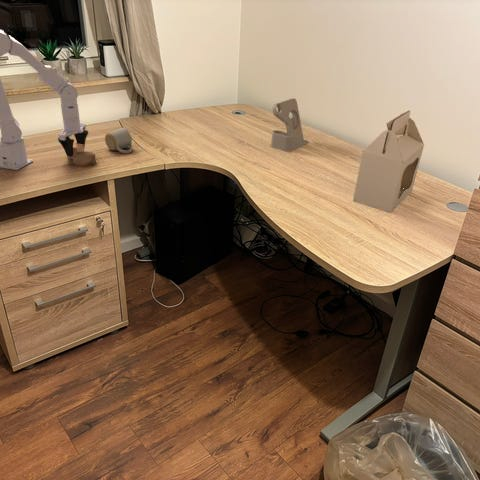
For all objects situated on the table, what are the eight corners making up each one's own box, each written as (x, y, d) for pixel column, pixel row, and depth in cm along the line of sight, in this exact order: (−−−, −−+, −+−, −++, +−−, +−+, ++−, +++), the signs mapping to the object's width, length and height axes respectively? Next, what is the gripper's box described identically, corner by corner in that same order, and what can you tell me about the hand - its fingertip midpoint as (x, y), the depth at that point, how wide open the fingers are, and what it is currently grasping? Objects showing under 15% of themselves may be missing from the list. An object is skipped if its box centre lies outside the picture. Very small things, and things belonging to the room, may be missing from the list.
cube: (78, 159, 175) (76, 148, 173) (67, 157, 176) (65, 146, 174) (84, 155, 179) (83, 144, 176) (74, 154, 180) (72, 142, 177)
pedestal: (88, 168, 169) (87, 160, 167) (68, 165, 170) (67, 157, 169) (100, 161, 175) (99, 153, 174) (81, 157, 177) (80, 150, 175)
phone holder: (288, 152, 193) (293, 109, 184) (268, 146, 198) (271, 103, 189) (309, 142, 205) (315, 101, 196) (290, 137, 210) (294, 96, 201)
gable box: (376, 180, 173) (393, 104, 158) (412, 191, 166) (433, 112, 152) (352, 201, 157) (368, 118, 142) (390, 213, 150) (411, 127, 136)
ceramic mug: (104, 148, 186) (102, 129, 182) (121, 143, 192) (120, 125, 187) (120, 156, 180) (119, 137, 176) (137, 151, 186) (136, 132, 182)
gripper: (69, 124, 163) (74, 161, 170) (91, 113, 175) (95, 148, 182) (51, 121, 164) (57, 158, 171) (74, 110, 176) (79, 145, 183)
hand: (75, 152), depth 176 cm, fingers open, 7 cm apart
